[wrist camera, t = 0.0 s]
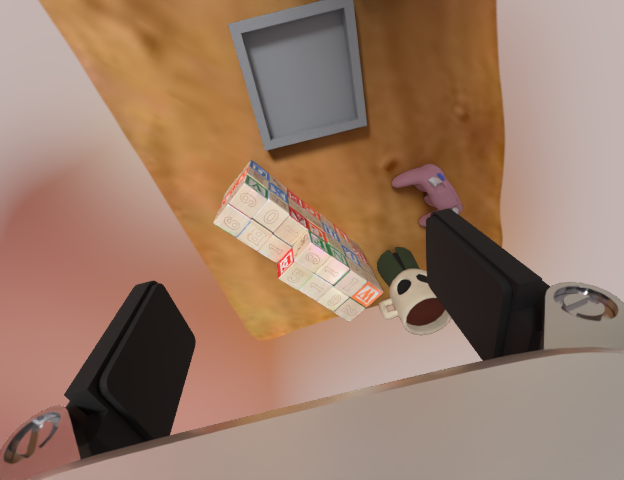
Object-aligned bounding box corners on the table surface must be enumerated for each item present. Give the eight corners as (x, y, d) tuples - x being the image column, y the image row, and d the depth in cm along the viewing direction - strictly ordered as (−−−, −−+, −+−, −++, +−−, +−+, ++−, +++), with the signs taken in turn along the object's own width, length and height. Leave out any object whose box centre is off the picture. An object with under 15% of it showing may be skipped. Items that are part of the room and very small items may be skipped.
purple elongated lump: (434, 206, 47) (475, 210, 41) (418, 228, 46) (457, 234, 40) (404, 160, 43) (445, 156, 37) (386, 182, 42) (424, 182, 36)
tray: (230, 26, 32) (228, 23, 30) (348, -3, 31) (352, -8, 30) (265, 147, 38) (265, 150, 36) (362, 123, 38) (367, 125, 36)
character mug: (422, 233, 48) (468, 283, 36) (427, 267, 51) (470, 321, 40) (358, 255, 48) (383, 310, 37) (367, 286, 52) (393, 346, 41)
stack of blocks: (223, 193, 41) (206, 235, 30) (250, 158, 39) (242, 190, 28) (333, 270, 49) (350, 324, 39) (360, 244, 47) (385, 294, 37)
